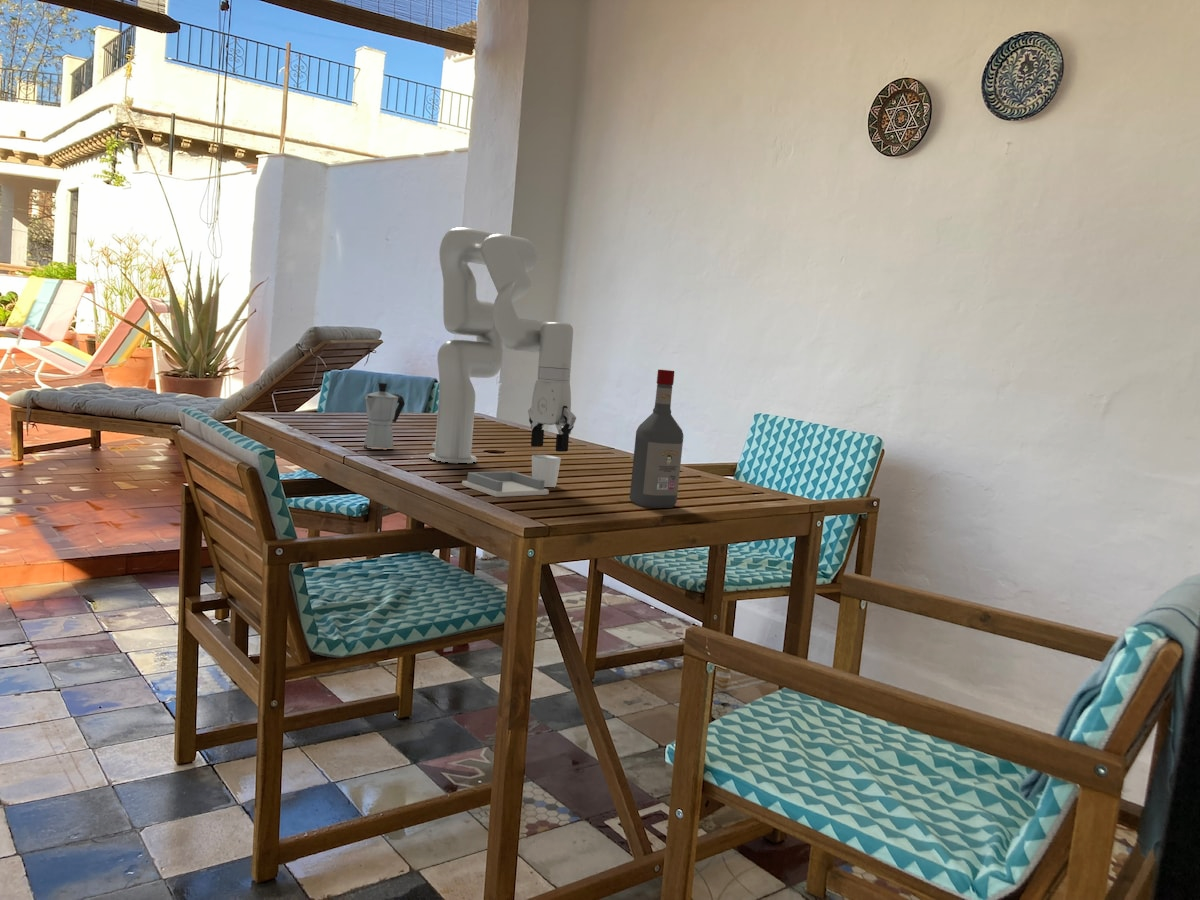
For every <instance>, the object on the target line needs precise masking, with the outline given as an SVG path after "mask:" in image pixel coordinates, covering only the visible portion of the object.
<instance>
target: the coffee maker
mask: <svg viewBox="0 0 1200 900" xmlns="http://www.w3.org/2000/svg"><path fill="white" fill-rule="evenodd" d="M387 387H388V383H385V382H378V391H375V392H370V393H367V394H365V395H364V396H365V397H364V398H363V399H364V400H365V407H366V408H365V409H366V418H367V419H368V423H367V430H366V433H365V437H364V442H363V446H364V445H367V446H371V447H383V448H388V447H394V437H393V434H394V433H393V423H396V422H397V421H398V418H399V416H400V415H401V413H402V410H403V408H404V406H405V400H404V397H403V396H401V395H400V394H399V393H398V394H396V393H395V394H394V393H391V392H390V393H389V392H387V391H386V390H387Z"/></svg>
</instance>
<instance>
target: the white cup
mask: <svg viewBox="0 0 1200 900" xmlns="http://www.w3.org/2000/svg"><path fill="white" fill-rule="evenodd" d="M561 460H562V458H561V457H559V456H557V455H551V454H533V455H531V477H534V478H537V479H541V480H544V481H545V482H544V487H554V488H556V487H555V486H557V483H558V477H559V471H560V465H561Z"/></svg>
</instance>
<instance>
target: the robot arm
mask: <svg viewBox="0 0 1200 900" xmlns="http://www.w3.org/2000/svg"><path fill="white" fill-rule="evenodd" d="M537 259H538V256H537V250H536V246H535V245H534V243H533V242H531V240H530V239H527V238H526V237H525V238H524V237H520V236H514V235H509V234H503V233H497V232H493V231H487V230H482V229H477V228H473V227H472V228H471V227H455V228H451V229H450V230H448V231H446V233H445V234H444V236H443V237H442V239H441V242H440V247H439V264H440V269H441V274H442V279H443V281H442V282H443V285H442V287H443V288H442V291H443V295H442V296H443V298H442V299H443V301H442V302H443V304H442V307H443V308H442V310H443V314H442V315H443V325H444V328H445V330H446V331H447V332H448V333H449V334H450V333H451V334H453V335H459V336H469V337H476V340H468V339H451V340H448V341H445V342H443V344H441V345H440V347H439V348H438V351H437V369H438V380H439V381H438V403H437V417H436V430H435V431H436V432H435V441H434V442H433V443H431V448H433V449H434V450H433V451H434V452H432V453H431V452H430V453H429V454H428V457H429V458H430V459H432V460H431V461H433V460H436V461H435V462H438V461H441V462H440V463H445V462H448V463H447V464H458V463H467V464H474V463H473V462H475V463H477V462H478V461H477V460H478V457H476V456H475V455H472V449H473V433H474V421H475V420H474V419H475V411H476V409H475V408H476V391H475V387H474V385H473V383H472V382H471V381H472V380H471V379H470V378H474V379H475V378H479V379H481V378H482V379H484V378H485V379H488V378H493V377H496V375H498V374H499V372H500V371H501V368H502V364H503V345H504V346H505V347H506V348H507V349H509V350H511V351H514V352H526V353H527V352H529V353H537V354H538V368H537V380H535V383H534V388H533V392H532V399H531V406H530V407H531V408H529V409H528V410H527V415H528V421H529V423H530V429H531V437H530V438H531V440H530V446H531V447H543V446H544V437H545V430H544V429H543V428H544V427H545V426H554V425H555V428H556V430H557V433H556V437H555V438H556V439H555V451H556V452H557V453H558V452H560V453H562V452H565V453H566V452H568V451H569V441H570V440H569V439H570V435H571V433H572V430H573V429H574V425H575V423H576V421H577V416H575V414H574V413H573V412H572V410H571V409H572V408H571V407H572V393H571V381H570V380H571V368H572V354H573V353H572V352H573V340H574V339H573V337H574V328H573V326H572V325H571V324H570V323H567V322H560V321H544V320H543V321H542V320H535V319H534V320H533V319H528V318H527V319H524V318H519V317H518V315H517V312H516V311H515V309H514V305H513V303H515V302H516V301H518V300H521V299H522V298H523V297H525V296H526V295H527V294H528V293H529V292H530V290H531V287H532V282H531V279H530V276H529V274H528V272H530V271H532V270H533V269H534V267H535V266H536V264H537V261H538V260H537ZM469 263H471V264H472V263H473V264H478V265H483V266H484V265H485V266H486V268H487V272H488V273H489V275H490V277H491V280H492V282H493V284H494V285H493V286H494V287H495V290H496V292H497V295H496V297H495V299H494V302H491V301H488V300H479V299H478V297H477V281H476V277H475V276H474V272H473V271H472V269H471V268H470V266H469V265H468V264H469ZM429 458H428V459H429ZM430 459H429V460H430Z"/></svg>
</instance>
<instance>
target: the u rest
mask: <svg viewBox="0 0 1200 900" xmlns="http://www.w3.org/2000/svg"><path fill="white" fill-rule="evenodd" d="M466 477H467V478H466V479H467V480H462V481H461V486H464V487H467V488H469V489H473V490H475V491H478V492H481V493H484V494H487V495H490V496H492V497H495V498H498V497H499V498H500V497H518V496H519V497H520V496H521V497H523V496H541V495H542V496H545V495H549V493H550V490H549V489H548V488H544V482H545V481H544V480H541V479H537V478H534V477H532V475H527V474H524V473H520V472H517V471H512V470H511V471H478V472H477V471H476V472H475V471H474V472H472V471H471V472H470V471H469V472H467V476H466Z"/></svg>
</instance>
